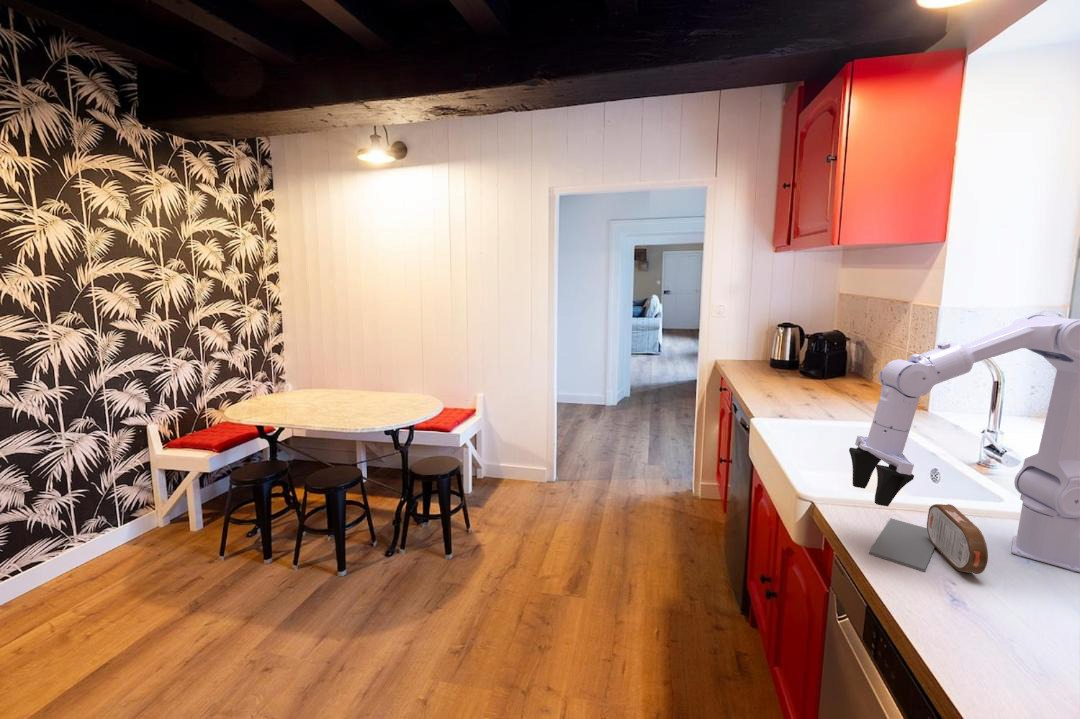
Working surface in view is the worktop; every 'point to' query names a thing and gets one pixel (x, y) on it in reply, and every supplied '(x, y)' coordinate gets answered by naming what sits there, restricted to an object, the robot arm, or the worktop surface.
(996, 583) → the worktop surface
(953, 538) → the tin
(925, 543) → the mat
